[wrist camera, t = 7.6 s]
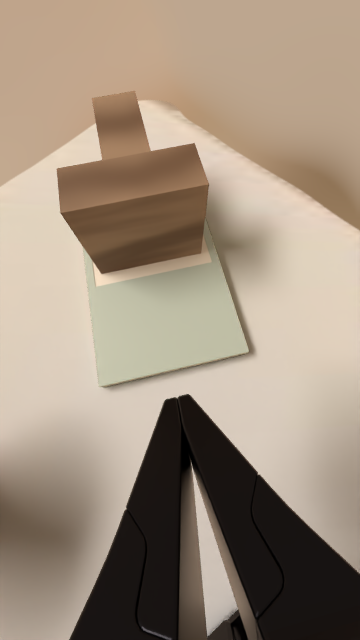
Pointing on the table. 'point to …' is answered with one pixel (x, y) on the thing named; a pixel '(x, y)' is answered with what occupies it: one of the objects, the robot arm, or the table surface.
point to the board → (162, 316)
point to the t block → (134, 193)
